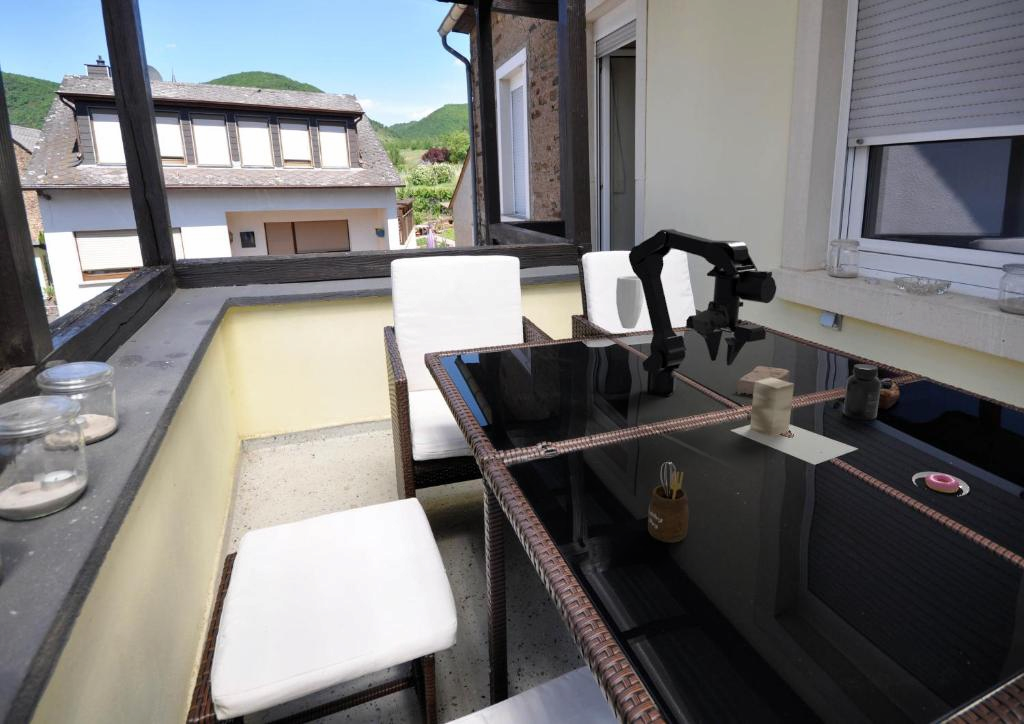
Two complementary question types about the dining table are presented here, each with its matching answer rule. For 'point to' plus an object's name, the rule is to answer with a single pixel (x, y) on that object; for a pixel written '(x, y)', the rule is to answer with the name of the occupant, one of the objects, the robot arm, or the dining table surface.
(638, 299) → the cup
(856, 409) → the supplement bottle
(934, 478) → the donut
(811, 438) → the mat
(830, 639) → the dining table surface
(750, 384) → the brick
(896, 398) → the pastry
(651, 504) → the utensil holder
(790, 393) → the block
